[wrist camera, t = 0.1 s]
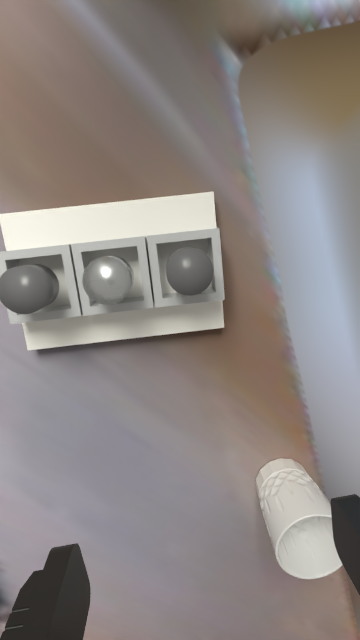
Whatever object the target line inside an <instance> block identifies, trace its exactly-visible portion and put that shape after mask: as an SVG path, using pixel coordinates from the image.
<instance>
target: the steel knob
mask: <svg viewBox="0 0 360 640" xmlns="http://www.w3.org/2000/svg"><path fill="white" fill-rule="evenodd" d="M82 282H83V287H84V290H85V292H86V294H87V295H88V296H89V297H90V298H91V299H92V300H93V301H95V302H97V303H99V304H103V305H112V304H116V303H118V302H120V301H121V300H123V299H124V298H125V297H126V295H127V294H128V292H129V291H130V289H131V288H132V286H133V283H134V273H133V269H132V267H131V266H130V264H129V263H128V262H127V261H126V260H124V259H123V258H121V257H118V256H113V255H111V256H105V257H100V258H97V259H95V260H93V261H92V262H90V263H89V264H88V265H87V267H86V268H85V270H84V273H83V277H82Z"/></svg>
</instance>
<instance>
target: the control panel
mask: <svg viewBox="0 0 360 640" xmlns="http://www.w3.org/2000/svg"><path fill="white" fill-rule="evenodd" d="M0 224H1V228H2V233H3V238H4V242H5V247H6V251H2V252H0V277H1V275H2V274H3V273H4V272H5V271H7V270H8V269H10V268H13V267H17V266H23V265H29V264H41V265H44V266H46V267H48V268H50V269H51V270H52V271H53V272H54V273H55V275H56V276H57V279H58V281H59V293H58V295H57V297H56V299H55V300H54V301H53V302H52V303H50V304H49V305H47V306H45V307H43V308H41V309H40V310H38V311H36V312H34V313H31V314H18V313H15V312H13V311H11V310H9V309H8V308H7V312H8V316H9V320H10V324H16V323H22V325H23V330H24V335H25V339H26V344H27V349H28V350H36V349H45V348H53V347H62V346H70V345H79V344H88V343H96V342H105V341H114V340H122V339H131V338H139V337H148V336H157V335H165V334H174V333H182V332H191V331H200V330H208V329H217V328H224V317H223V305H222V300H225V295H224V282H223V269H222V256H221V243H220V230H219V228H216V217H215V204H214V192H206V193H196V194H187V195H177V196H168V197H158V198H149V199H140V200H130V201H121V202H111V203H102V204H92V205H83V206H73V207H64V208H55V209H45V210H36V211H26V212H17V213H7V214H0ZM184 247H191V248H196V249H199V250H201V251H203V252H204V253H206V254H207V255H208V257H209V258H210V260H211V262H212V264H213V269H214V274H213V279H212V281H211V283H210V285H209V286H208V288H207V289H206V290H204V291H203V292H201V293H199V294H197V295H192V296H188V295H183V294H180V293H178V292H176V291H175V290H174V289H173V288H172V287H171V286H170V284H169V282H168V280H167V276H166V263H167V260H168V258H169V257H170V255H171V254H172V253H173V252H174V251H176V250H178V249H180V248H184ZM111 255H113V256H118V257H121V258H123V259H124V260H126V261H127V262H128V263H129V264H130V266H131V267H132V269H133V273H134V283H133V286H132V288H131V289H130V291H129V292H128V294H127V295H126V297H125V298H124V299H123V300H121V301H120V302H118V303H116V304H112V305H103V304H99V303H97V302H95V301H93V300H92V299H91V298H90V297H89V296H88V295H87V294H86V292H85V290H84V287H83V282H82V277H83V273H84V270H85V268H86V267H87V265H88V264H89V263H90V262H92V261H93V260H95V259H97V258H100V257H105V256H111Z"/></svg>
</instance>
